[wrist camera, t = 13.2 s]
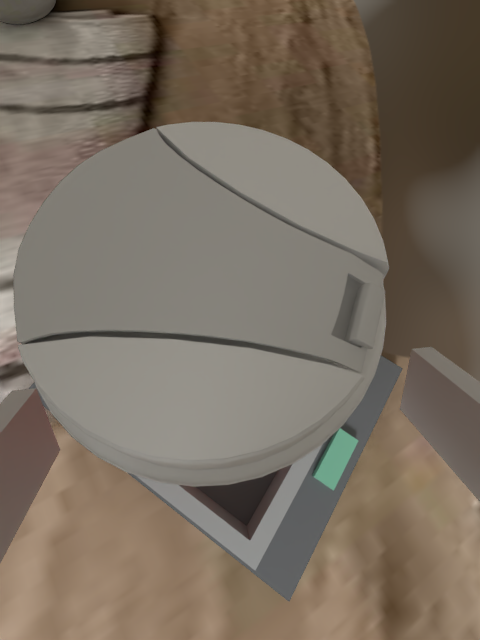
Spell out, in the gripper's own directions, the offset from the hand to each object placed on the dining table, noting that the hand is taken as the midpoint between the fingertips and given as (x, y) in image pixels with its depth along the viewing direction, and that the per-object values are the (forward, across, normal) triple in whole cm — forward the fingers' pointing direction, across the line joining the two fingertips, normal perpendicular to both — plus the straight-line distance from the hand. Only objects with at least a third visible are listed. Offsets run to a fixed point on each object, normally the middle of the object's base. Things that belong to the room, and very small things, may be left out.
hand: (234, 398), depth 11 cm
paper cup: (+7, 0, -4) cm, 8 cm away
